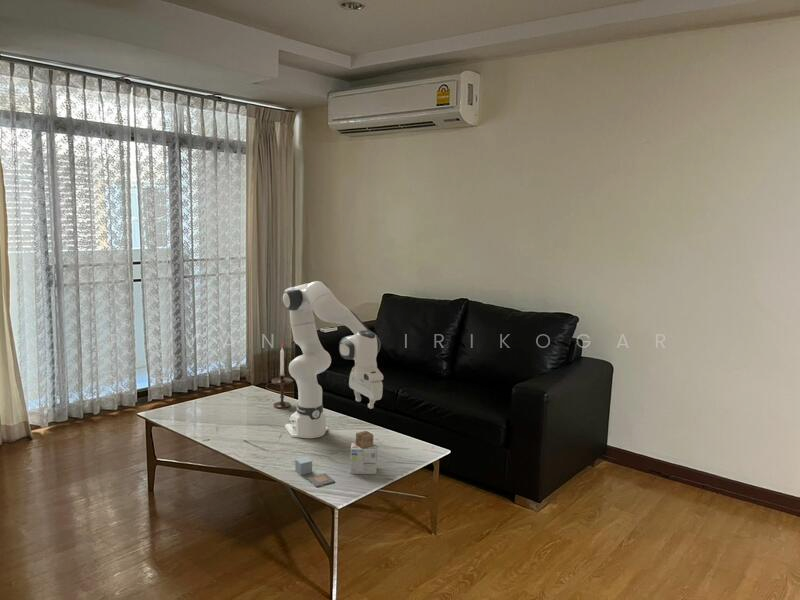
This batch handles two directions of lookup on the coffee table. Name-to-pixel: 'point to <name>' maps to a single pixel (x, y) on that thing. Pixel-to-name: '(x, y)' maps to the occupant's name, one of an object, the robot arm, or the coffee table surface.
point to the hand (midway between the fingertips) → (364, 404)
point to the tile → (321, 480)
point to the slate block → (303, 465)
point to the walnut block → (364, 439)
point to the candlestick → (282, 383)
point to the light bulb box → (363, 459)
